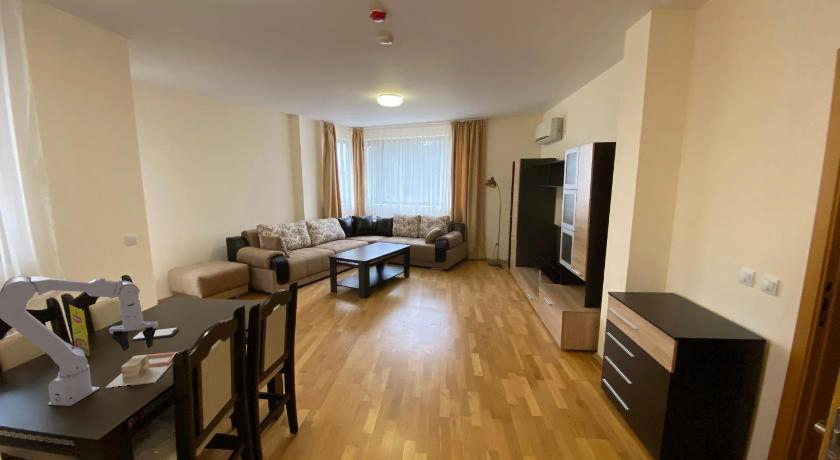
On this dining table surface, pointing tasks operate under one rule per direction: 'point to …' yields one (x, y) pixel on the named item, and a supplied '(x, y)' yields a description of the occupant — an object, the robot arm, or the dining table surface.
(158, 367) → the mat
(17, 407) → the dining table surface
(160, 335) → the phone case
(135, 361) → the block
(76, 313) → the food package
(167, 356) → the frame
